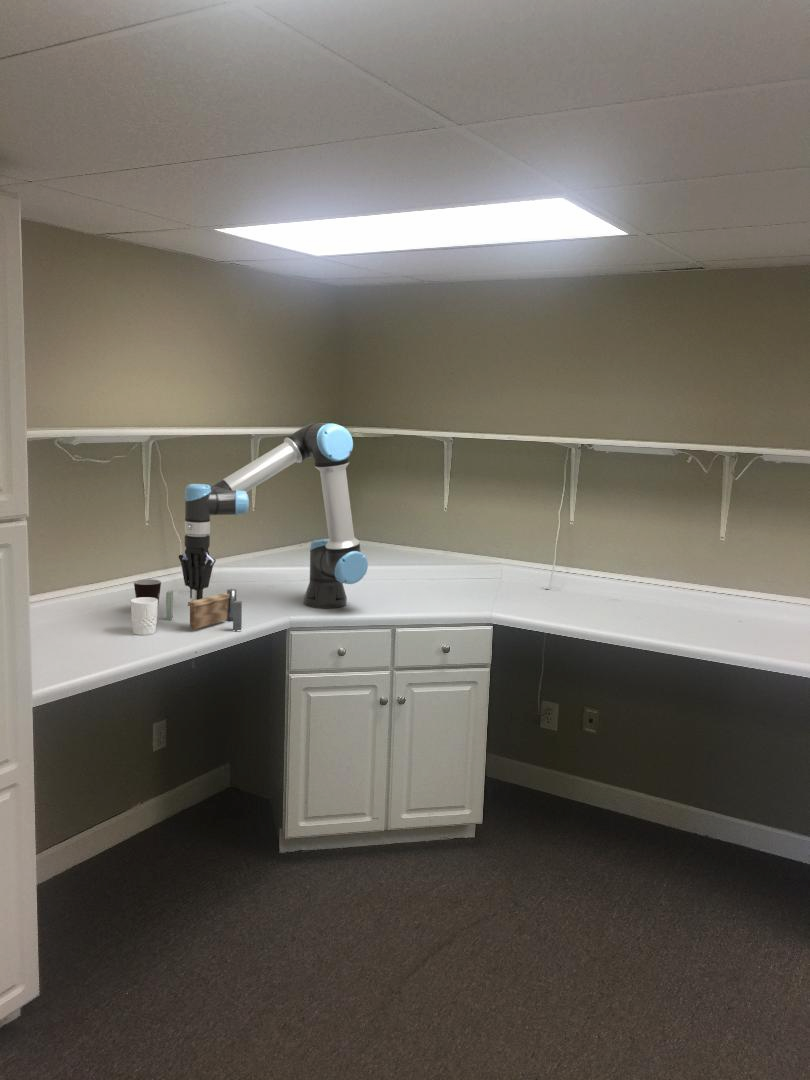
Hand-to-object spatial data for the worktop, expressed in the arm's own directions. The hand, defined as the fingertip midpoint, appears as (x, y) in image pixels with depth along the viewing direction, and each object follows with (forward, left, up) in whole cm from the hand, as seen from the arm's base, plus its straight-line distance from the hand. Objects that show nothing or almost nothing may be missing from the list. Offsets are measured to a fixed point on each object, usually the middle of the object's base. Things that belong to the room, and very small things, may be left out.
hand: (196, 609), depth 269 cm
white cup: (+14, +8, -6) cm, 17 cm away
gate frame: (-2, -3, -6) cm, 7 cm away
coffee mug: (+18, -19, -6) cm, 27 cm away
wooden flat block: (-4, 0, -5) cm, 6 cm away
